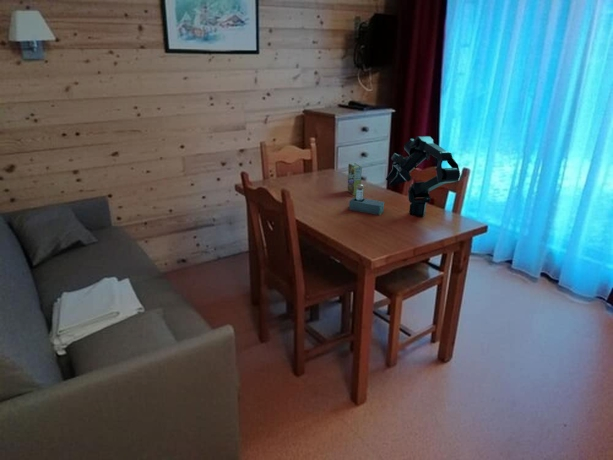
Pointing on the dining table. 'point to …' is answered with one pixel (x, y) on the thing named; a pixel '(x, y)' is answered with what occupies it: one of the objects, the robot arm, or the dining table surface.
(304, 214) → the dining table surface
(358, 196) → the steel pin
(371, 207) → the bar
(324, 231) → the dining table surface
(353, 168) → the candy box
